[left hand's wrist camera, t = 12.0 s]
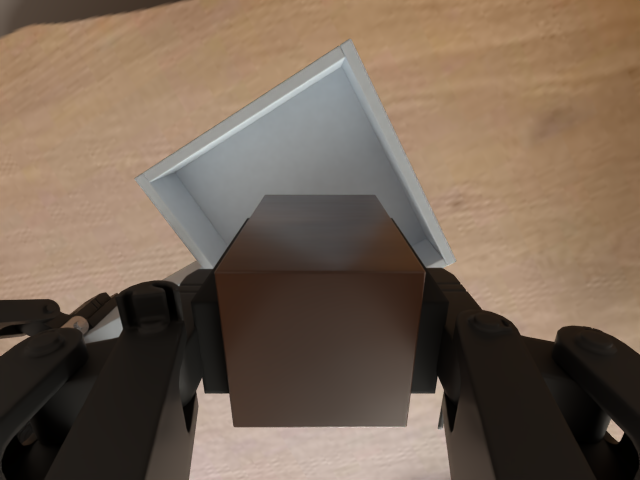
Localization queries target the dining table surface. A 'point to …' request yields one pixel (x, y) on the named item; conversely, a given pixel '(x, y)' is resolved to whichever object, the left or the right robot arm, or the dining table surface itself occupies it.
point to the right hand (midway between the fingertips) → (119, 310)
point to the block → (320, 314)
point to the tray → (289, 166)
